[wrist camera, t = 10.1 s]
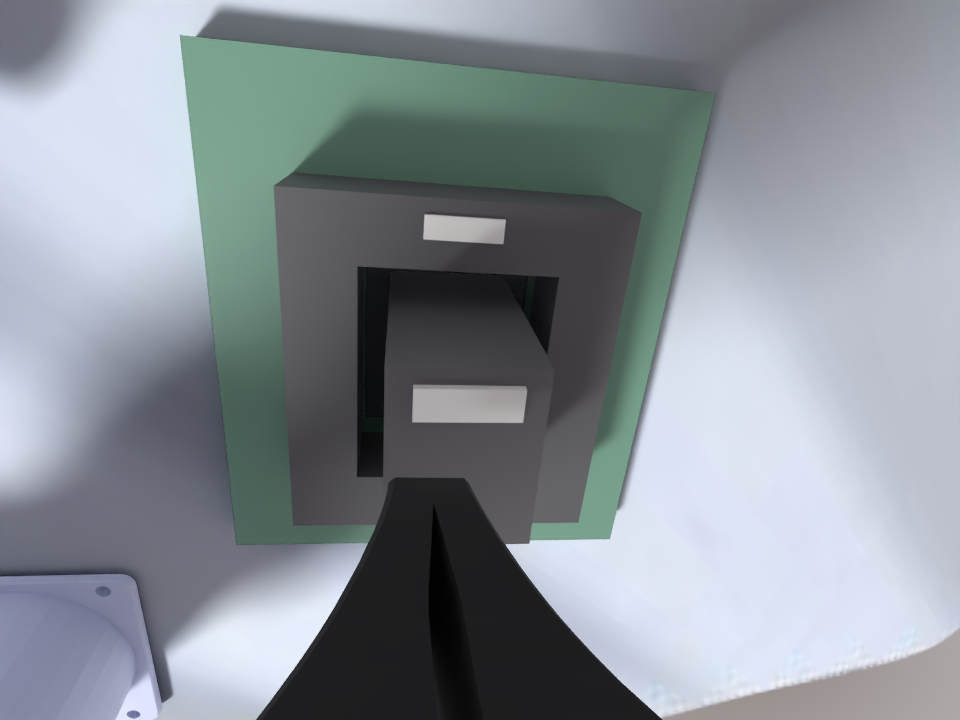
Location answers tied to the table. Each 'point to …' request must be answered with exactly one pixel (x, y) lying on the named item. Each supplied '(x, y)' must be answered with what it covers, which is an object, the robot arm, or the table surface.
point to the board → (413, 142)
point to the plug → (466, 392)
